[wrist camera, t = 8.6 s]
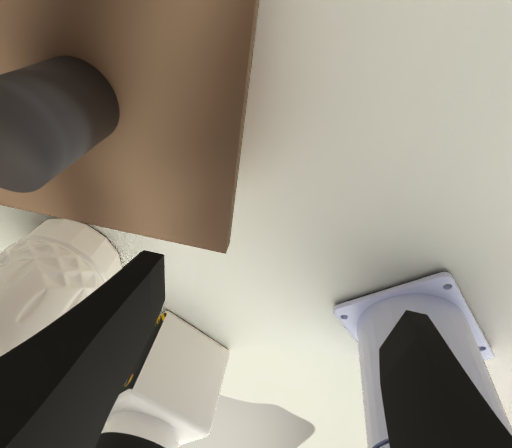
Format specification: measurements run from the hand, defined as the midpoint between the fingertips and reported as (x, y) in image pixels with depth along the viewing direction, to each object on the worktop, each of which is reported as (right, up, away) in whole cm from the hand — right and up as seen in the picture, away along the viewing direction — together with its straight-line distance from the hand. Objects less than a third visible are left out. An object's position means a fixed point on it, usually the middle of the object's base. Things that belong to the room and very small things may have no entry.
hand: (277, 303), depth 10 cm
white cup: (-14, 0, +15) cm, 21 cm away
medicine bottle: (-8, -8, +21) cm, 24 cm away
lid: (-7, +7, +3) cm, 11 cm away
